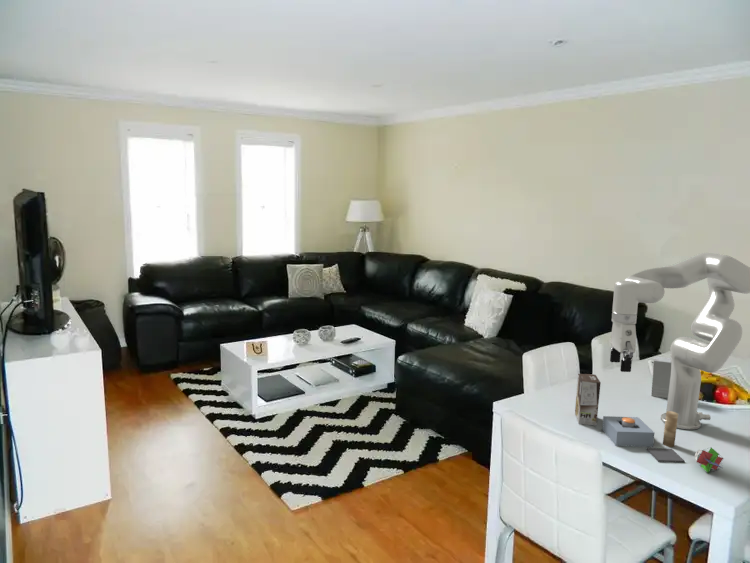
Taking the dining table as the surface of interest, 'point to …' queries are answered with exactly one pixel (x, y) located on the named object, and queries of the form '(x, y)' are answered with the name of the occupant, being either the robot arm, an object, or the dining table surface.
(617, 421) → the grey button housing
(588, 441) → the dining table surface
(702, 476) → the dining table surface
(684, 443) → the dining table surface
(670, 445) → the beech dowel
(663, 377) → the skincare box
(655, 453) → the rubber pad
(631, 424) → the orange push button
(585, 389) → the coffee box
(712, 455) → the geometric puzzle
